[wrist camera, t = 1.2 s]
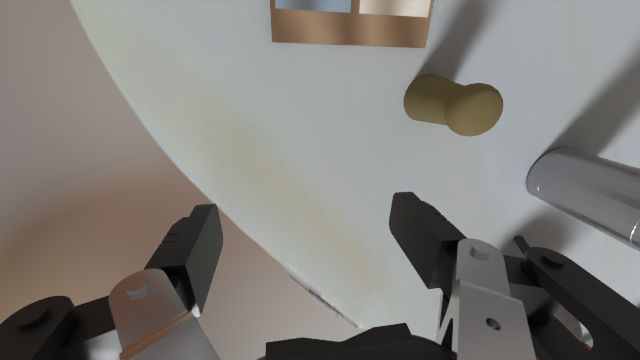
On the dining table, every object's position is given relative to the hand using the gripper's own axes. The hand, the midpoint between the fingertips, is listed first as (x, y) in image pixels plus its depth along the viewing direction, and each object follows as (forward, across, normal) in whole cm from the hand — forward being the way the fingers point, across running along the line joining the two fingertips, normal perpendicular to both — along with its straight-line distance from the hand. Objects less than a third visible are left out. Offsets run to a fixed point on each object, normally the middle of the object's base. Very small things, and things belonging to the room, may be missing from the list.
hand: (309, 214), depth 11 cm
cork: (+23, -18, -2) cm, 29 cm away
